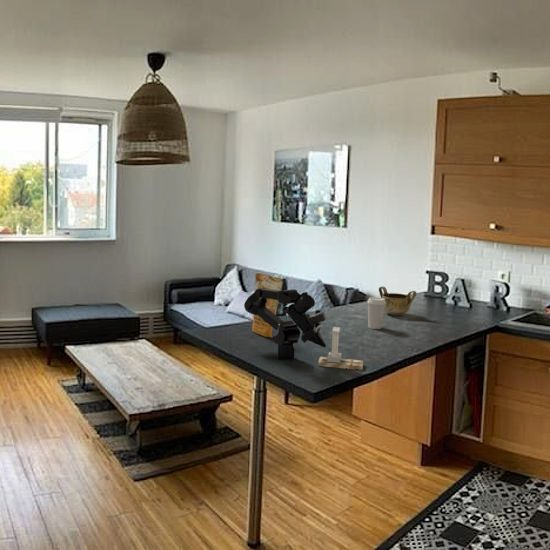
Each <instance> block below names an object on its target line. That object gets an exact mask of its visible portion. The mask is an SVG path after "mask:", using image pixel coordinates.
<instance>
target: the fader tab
mask: <svg viewBox="0 0 550 550" xmlns="http://www.w3.org/2000/svg"><path fill="white" fill-rule="evenodd" d="M340 332H341V327H337V326H333V327H332V331H331V335H332V340H331V341H332V342H331V343H332V344H331V352H330V351H329V352H328V355H327V356H326V357H327V362H336V363H340V360H341V359H342V352H339V337H340V335H339V334H340Z"/></svg>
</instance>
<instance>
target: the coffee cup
mask: <svg viewBox="0 0 550 550" xmlns="http://www.w3.org/2000/svg"><path fill="white" fill-rule="evenodd" d="M366 302H367V320H368V321H367V323H368V324H367V325H368V326H367V328H369V329H371V330H372V329H373V330H380V329H382V324H383V319H384V313H385V311H384V308H385V304H386V301H385V299H383V298H381V297H376V296H375V297H369V298H368V300H367V301H366Z"/></svg>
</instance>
